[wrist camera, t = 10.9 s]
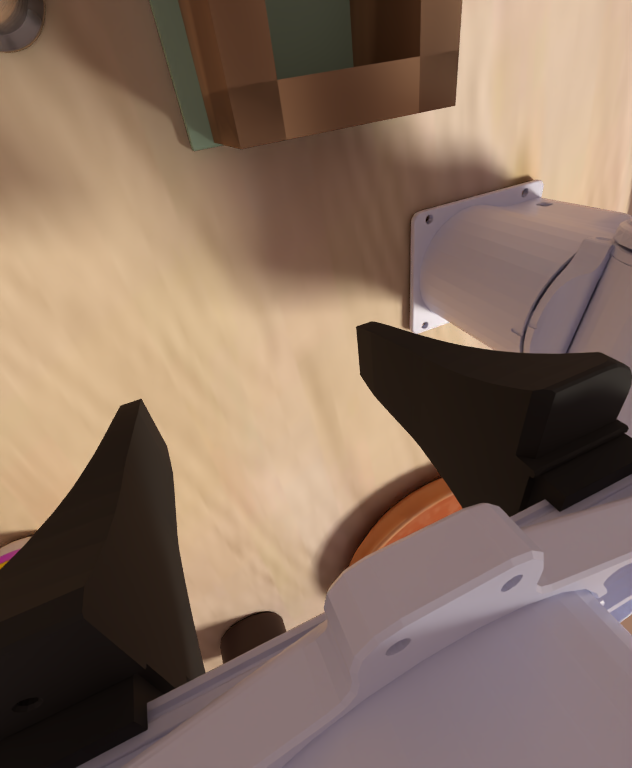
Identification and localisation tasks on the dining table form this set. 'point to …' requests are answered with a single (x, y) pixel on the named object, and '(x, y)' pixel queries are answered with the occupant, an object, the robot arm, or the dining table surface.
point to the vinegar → (250, 634)
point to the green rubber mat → (289, 44)
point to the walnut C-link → (327, 89)
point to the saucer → (409, 517)
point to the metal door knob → (20, 23)
